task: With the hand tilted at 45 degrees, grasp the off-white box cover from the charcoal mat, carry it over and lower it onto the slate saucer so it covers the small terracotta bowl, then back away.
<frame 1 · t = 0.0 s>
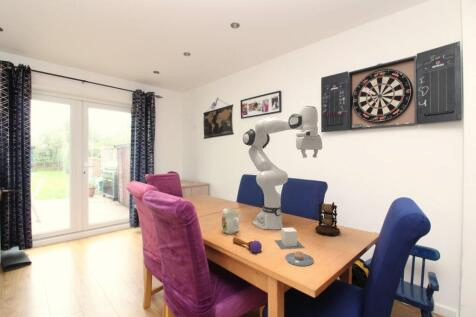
hand: (309, 157, 135), 48 cm above the table, tool pointing down, fingers open, 8 cm apart
pitcher: (231, 232, 148), on the table
cover: (289, 236, 128), on the mat
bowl: (299, 259, 110), on the table
wooden spool stand: (327, 233, 148), on the table
mat: (289, 244, 128), on the table
kendama: (246, 248, 124), on the table
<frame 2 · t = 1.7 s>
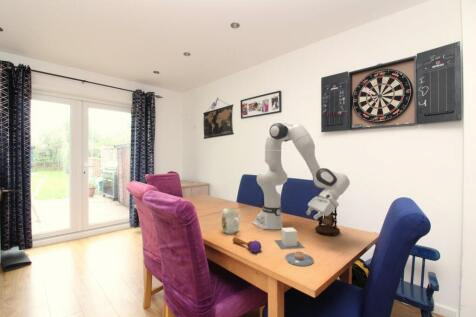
hand: (310, 216, 129), 15 cm above the table, tool tilted 45°, fingers open, 8 cm apart
nothing on the table moved.
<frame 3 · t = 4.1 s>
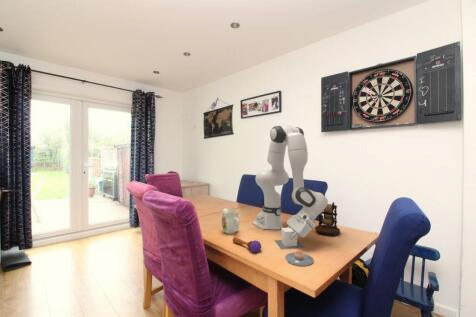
hand: (287, 236, 128), 5 cm above the table, tool tilted 45°, fingers closed on cover, 7 cm apart
cover: (289, 236, 128), on the mat, touching gripper
everything else where it was.
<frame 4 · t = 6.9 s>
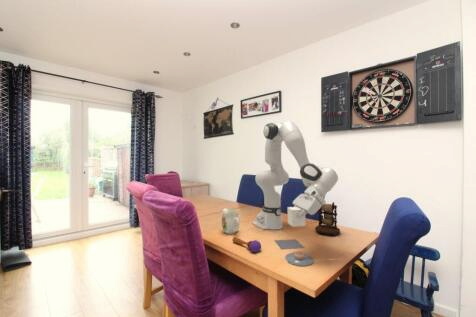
hand: (295, 215, 115), 19 cm above the table, tool tilted 45°, fingers closed on cover, 7 cm apart
cover: (296, 216, 115), point 19 cm above the table, touching gripper
everything else where it was.
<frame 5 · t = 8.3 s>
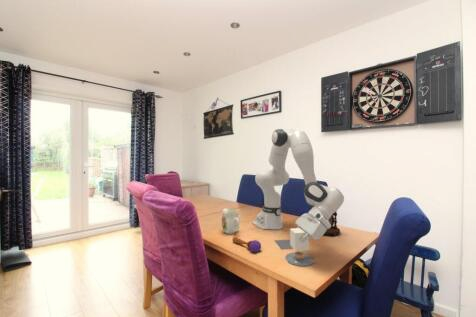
hand: (297, 238, 109), 10 cm above the table, tool tilted 45°, fingers closed on cover, 7 cm apart
cover: (299, 238, 110), point 10 cm above the table, touching gripper
everything else where it was.
when the fingers open (6 cm above the table, at t = 9.6 s): cover drops 1 cm, resting on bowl.
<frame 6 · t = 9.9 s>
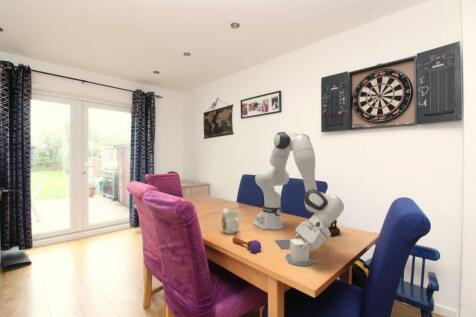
hand: (297, 246, 110), 6 cm above the table, tool tilted 45°, fingers open, 8 cm apart
cover: (299, 250, 110), point 5 cm above the table, touching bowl
everything else where it was.
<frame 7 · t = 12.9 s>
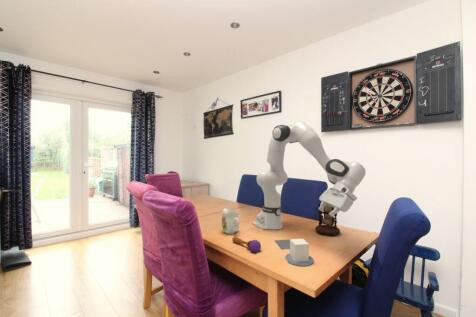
hand: (325, 212, 115), 21 cm above the table, tool tilted 40°, fingers open, 8 cm apart
nothing on the table moved.
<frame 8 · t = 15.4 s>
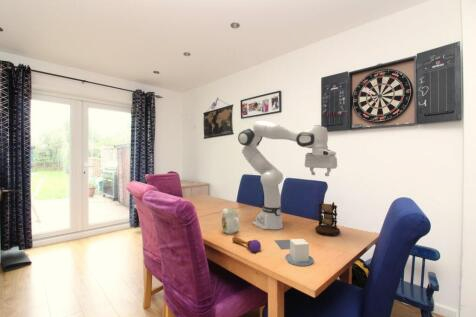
hand: (319, 175, 139), 37 cm above the table, tool pointing down, fingers open, 8 cm apart
at the end: cover 0.0 cm off-centre on the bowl, point 4.6 cm above the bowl's base; cover tilted 0°; the gripper is holding nothing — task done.
